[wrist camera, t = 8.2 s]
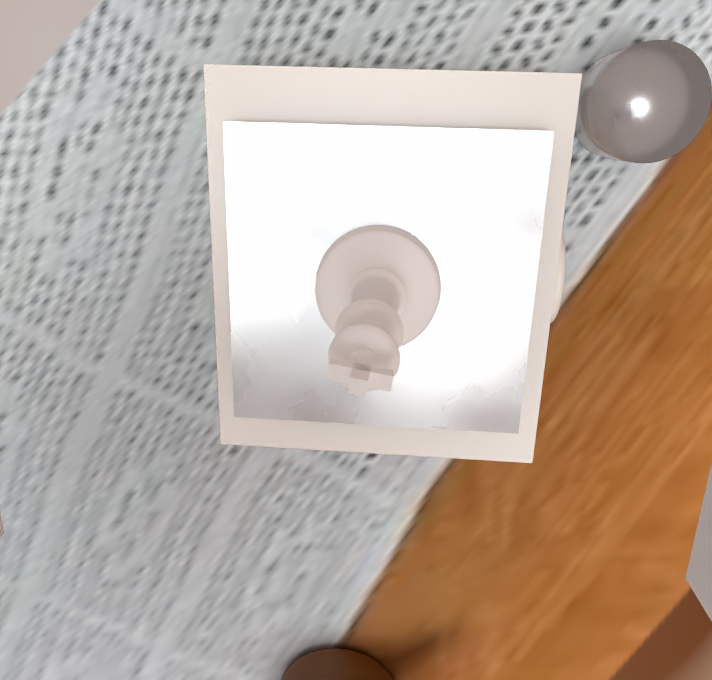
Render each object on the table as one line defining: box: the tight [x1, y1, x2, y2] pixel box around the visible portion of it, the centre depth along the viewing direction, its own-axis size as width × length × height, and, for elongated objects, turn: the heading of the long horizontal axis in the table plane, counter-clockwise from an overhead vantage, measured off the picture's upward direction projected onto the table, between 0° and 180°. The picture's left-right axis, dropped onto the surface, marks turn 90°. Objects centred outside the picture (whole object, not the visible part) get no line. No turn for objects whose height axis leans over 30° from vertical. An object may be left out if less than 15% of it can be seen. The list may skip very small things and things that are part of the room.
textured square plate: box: [223, 121, 554, 434], centre depth 26 cm, size 12×12×1 cm
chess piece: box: [315, 225, 441, 397], centre depth 21 cm, size 5×5×10 cm
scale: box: [203, 64, 582, 463], centre depth 29 cm, size 14×16×5 cm
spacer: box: [574, 40, 712, 163], centre depth 27 cm, size 4×4×4 cm
